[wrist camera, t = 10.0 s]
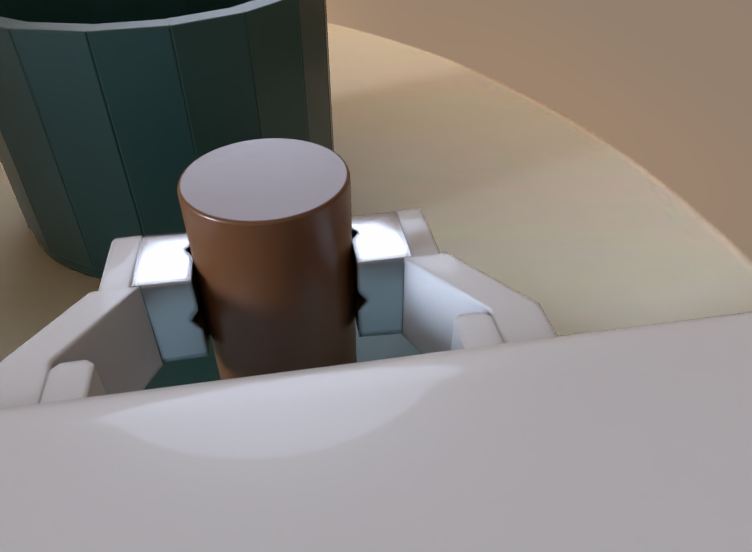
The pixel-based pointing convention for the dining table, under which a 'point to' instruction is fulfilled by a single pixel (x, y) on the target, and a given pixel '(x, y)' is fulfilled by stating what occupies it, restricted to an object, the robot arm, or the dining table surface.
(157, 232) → the pot
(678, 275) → the dining table surface
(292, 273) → the lid
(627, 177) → the dining table surface
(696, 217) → the dining table surface
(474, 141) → the dining table surface
